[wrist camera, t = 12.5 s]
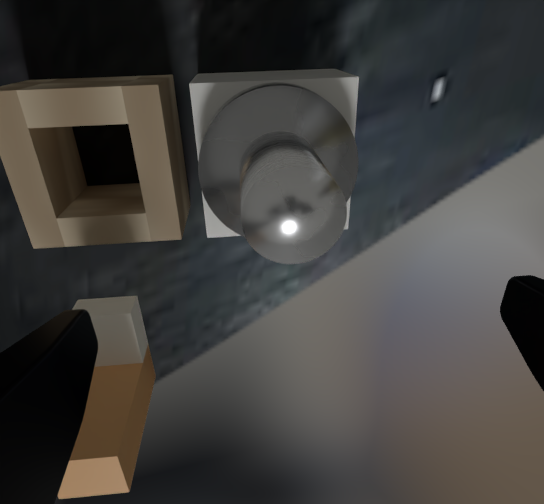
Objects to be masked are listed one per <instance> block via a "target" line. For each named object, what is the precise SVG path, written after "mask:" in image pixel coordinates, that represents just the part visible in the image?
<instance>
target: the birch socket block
mask: <svg viewBox="0 0 544 504" xmlns="http://www.w3.org/2000/svg"><path fill="white" fill-rule="evenodd" d="M115 124H128V125H129V130H130V135H131V140H132V145H133V150H134V155H135V161H136V166H137V171H138V176H139V181H140V183H133V184H114V185H96V186H87V182H86V178H85V175H84V171H83V167H82V163H81V159H80V155H79V152H78V148H77V144H76V140H75V136H74V132H73V129H72V126H92V125H115ZM0 156H1V159H2V162H3V165H4V167H5V170H6V173H7V176H8V179H9V181H10V184H11V187H12V190H13V193H14V195H15V198H16V201H17V204H18V207H19V209H20V212H21V215H22V218H23V221H24V223H25V226H26V229H27V232H28V235H29V237H30V240H31V243H32V246H33V249H36V248H52V247H68V246H84V245H100V244H116V243H132V242H148V241H164V240H180V239H182V236H183V232H184V228H185V224H186V220H187V216H188V212H189V208H190V198H189V191H188V183H187V176H186V169H185V161H184V154H183V146H182V139H181V132H180V124H179V117H178V109H177V102H176V94H175V87H174V80H173V75H149V76H122V77H96V78H69V79H42V80H27V81H22V82H18V83H14V84H9V85H5V86H1V87H0Z"/></svg>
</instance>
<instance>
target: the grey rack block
mask: <svg viewBox="0 0 544 504" xmlns="http://www.w3.org/2000/svg"><path fill="white" fill-rule="evenodd" d="M272 82H283V83H290V84H296V85H299V86H302V87H305V88H307V89H309V90H311V91H313V92H315V93H317V94H318V95H319V96H321V97H322V98H324V99H325V100H327V101H328V102H329V103H331V104H332V105H333V106H334V107H335V108H336V109H337V110H338V111H339V112H340V113H341V115H342V116H343V117H344V118H345V120H346V122H347V123H348V125H349V127H350V129H351V131H352V133H353V136H354V138H355V124H356V110H357V96H358V82H359V77H358V76H355V75H352V74H349V73H346V72H343V71H340V70H337V69H309V70H282V71H256V72H229V73H202V74H197V75H196V76H195V77H194V79H193V80H192V81H191V82H190V83H189V87H190V95H191V104H192V112H193V120H194V129H195V137H196V146H197V154H198V161H199V153H200V149H201V144H202V141H203V137H204V135H205V132H206V129H207V127H208V125H209V123H210V121H211V119H212V118H213V116H214V115H215V114H216V112H217V111H218V110H219V109H220V108H221V107H222V106H223V104H224V103H225V102H227V101H228V100H229V99H230V98H232V97H233V96H234V95H236V94H238V93H239V92H241V91H243V90H245V89H247V88H250V87H252V86H256V85H259V84H263V83H272ZM202 197H203V205H204V214H205V222H206V231H207V238H212V237H228V236H241V235H239V234H237V233H235V232H234V231H232V230H231V229H229V228H228V227H227V226H225V225H224V224H223V223H222V222H221V221H220V220H219V219H218V218H217V217H216V216H215V214H214V213H213V212H212V210H211V209H210V207H209V206H208V204H207V202H206V200H205V198H204V196H203V193H202ZM346 205H347V218H346V223H345V227H344V229H348V223H349V209H350V198H349V200H348V201H347V203H346Z"/></svg>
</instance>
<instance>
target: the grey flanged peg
mask: <svg viewBox="0 0 544 504" xmlns="http://www.w3.org/2000/svg"><path fill="white" fill-rule="evenodd" d="M357 172H358V152H357V146H356V142H355V138H354V136H353V133H352V131H351V129H350V127H349V125H348V123H347V122H346V120H345V118H344V117H343V116H342V115H341V113H340V112H339V111H338V110H337V109H336V108H335V107H334V106H333V105H332V104H331V103H329V102H328V101H327V100H325V99H324V98H322V97H321V96H319V95H318V94H317V93H315V92H313V91H311V90H309V89H307V88H305V87H302V86H299V85H296V84H290V83H283V82H272V83H263V84H259V85H256V86H252V87H250V88H247V89H245V90H243V91H241V92H239V93H238V94H236V95H234V96H233V97H232V98H230V99H229V100H228V101H227V102H225V103H224V104H223V106H222V107H221V108H220V109H219V110H218V111H217V112H216V114H215V115H214V116H213V118H212V119H211V121H210V123H209V125H208V127H207V129H206V132H205V135H204V137H203V141H202V144H201V149H200V153H199V161H198V174H199V181H200V186H201V190H202V193H203V196H204V198H205V200H206V202H207V204H208V206H209V207H210V209H211V210H212V212H213V213H214V214H215V216H216V217H217V218H218V219H219V220H220V221H221V222H222V223H223V224H224V225H225V226H227V227H228V228H229V229H231V230H232V231H234V232H235V233H237V234H239V235H241V236H243V237H246V239H247V241H248V242H249V244H250V245H251V246H252V248H253V249H254V250H255V251H256V252H258V253H259V254H260V255H262V256H263V257H265V258H267V259H269V260H271V261H274V262H278V263H283V264H298V263H304V262H308V261H310V260H313V259H315V258H317V257H319V256H321V255H323V254H324V253H326V252H327V251H328V250H329V249H330V248H331V247H332V246H333V245H334V244H335V243H336V242H337V240H338V239H339V237H340V236H341V234H342V232H343V229H344V227H345V223H346V218H347V205H346V203H347V201H348V200H349V198H350V196H351V194H352V191H353V189H354V186H355V182H356V178H357Z"/></svg>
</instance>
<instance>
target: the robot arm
mask: <svg viewBox="0 0 544 504" xmlns="http://www.w3.org/2000/svg"><path fill="white" fill-rule="evenodd" d="M500 313H501V317H502V320H503V322H504V323H505V325H506V327H507V329H508V331H509V332H510V334H511V336H512V338H513V340H514V342H515V343H516V345H517V347H518V349H519V351H520V352H521V354H522V356H523V358H524V360H525V362H526V363H527V365H528V367H529V369H530V371H531V372H532V374H533V376H534V377H535V379H536V380H537V382H538V383H539V385H540V387H541V388H542V389H543V391H544V279H541V278H538V277H535V276H531V275H528V276H516V277H515V276H514V277H512V278H511V279H510V280H509V281H508V283H507V286H506V290H505V293H504V297H503V300H502V303H501V306H500ZM97 353H98V340H97V336H96V333H95V330H94V327H93V324H92V320H91V317H90V314H89V313H88V311H87V310H85V309H76V310H66V311H63V312H62V313H60V314H59V315H57V316H56V317H54V318H53V319H51V320H50V321H48V322H47V323H45V324H44V325H42V326H41V327H39V328H38V329H36V330H35V331H33V332H32V333H30V334H29V335H27V336H25V337H24V338H22V339H21V340H19V341H18V342H16V343H15V344H13V345H12V346H10V347H9V348H7V349H6V350H4V351H3V352H1V353H0V504H55V501H56V498H57V495H58V492H59V490H60V487H61V484H62V481H63V478H64V475H65V472H66V469H67V466H68V463H69V460H70V457H71V454H72V451H73V448H74V445H75V442H76V439H77V436H78V433H79V430H80V427H81V424H82V421H83V417H84V413H85V409H86V404H87V400H88V395H89V390H90V386H91V381H92V376H93V371H94V367H95V362H96V357H97Z"/></svg>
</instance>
